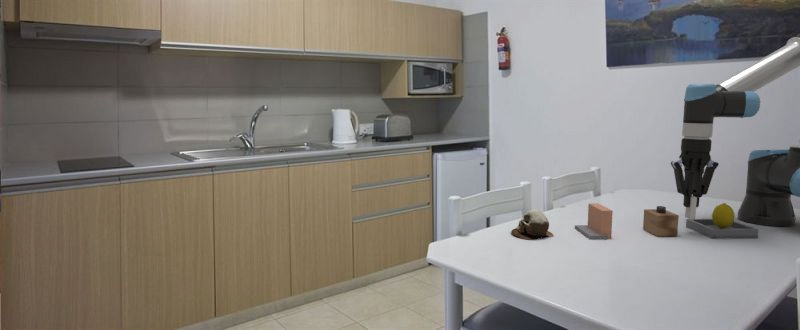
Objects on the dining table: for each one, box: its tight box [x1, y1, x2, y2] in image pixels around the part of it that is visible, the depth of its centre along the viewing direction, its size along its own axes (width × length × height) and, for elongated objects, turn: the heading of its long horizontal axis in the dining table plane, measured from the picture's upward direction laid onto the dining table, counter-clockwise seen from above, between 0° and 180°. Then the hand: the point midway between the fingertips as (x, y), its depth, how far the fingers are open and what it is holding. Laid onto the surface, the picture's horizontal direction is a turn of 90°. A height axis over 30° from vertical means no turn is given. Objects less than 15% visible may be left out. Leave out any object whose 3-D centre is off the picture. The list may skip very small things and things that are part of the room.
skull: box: [510, 209, 555, 241], centre depth 148 cm, size 12×10×10 cm
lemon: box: [711, 202, 735, 229], centre depth 149 cm, size 6×6×8 cm
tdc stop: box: [574, 202, 613, 240], centre depth 149 cm, size 6×12×8 cm, turn 1°
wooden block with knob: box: [642, 205, 680, 237], centre depth 149 cm, size 6×8×8 cm
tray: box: [685, 218, 759, 240], centre depth 149 cm, size 13×13×2 cm
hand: (690, 217), depth 149 cm, fingers closed
